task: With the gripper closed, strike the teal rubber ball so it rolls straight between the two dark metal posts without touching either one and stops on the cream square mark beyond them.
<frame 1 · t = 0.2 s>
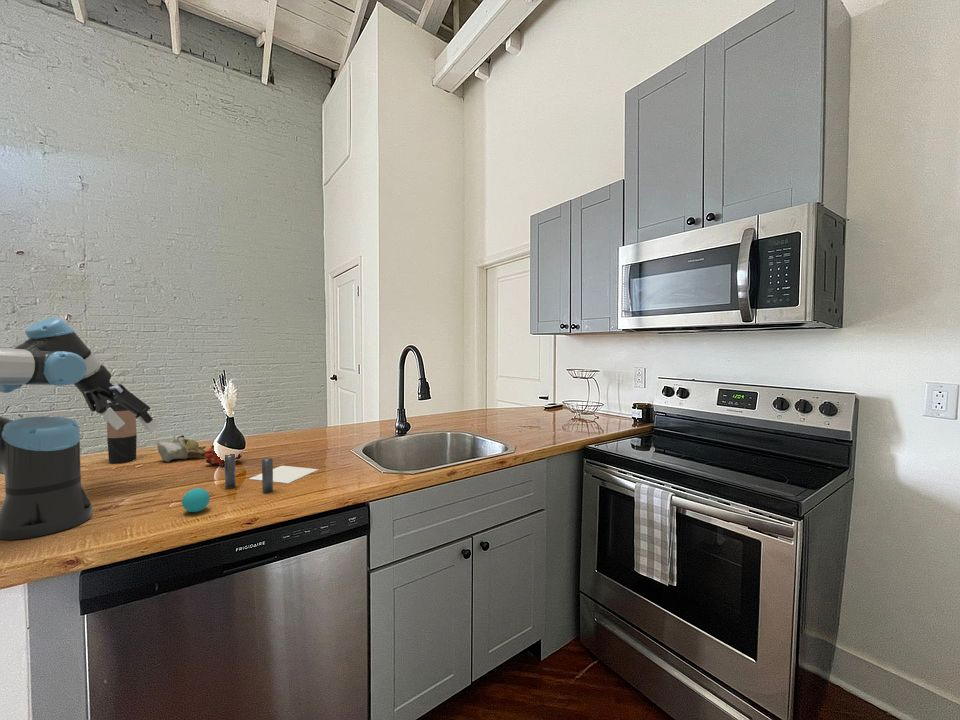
hand: (137, 428, 125), 15 cm above the worktop, fingers open, 13 cm apart
travel mug: (122, 461, 145), on the worktop
ball: (196, 500, 102), on the worktop
gate post right: (267, 491, 116), on the worktop
grey rock: (184, 459, 148), on the worktop
gate post left: (230, 487, 119), on the worktop
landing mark: (284, 474, 131), on the worktop
dragon fruit: (222, 465, 141), on the worktop
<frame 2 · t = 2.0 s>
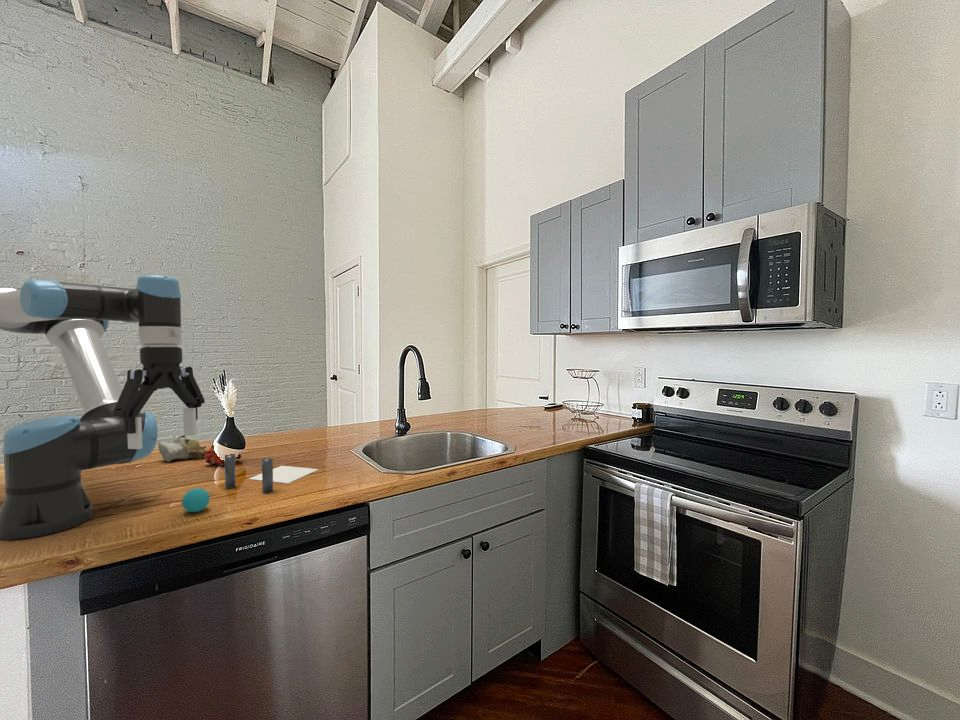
hand: (164, 441, 95), 18 cm above the worktop, fingers open, 13 cm apart
nothing on the worktop moved.
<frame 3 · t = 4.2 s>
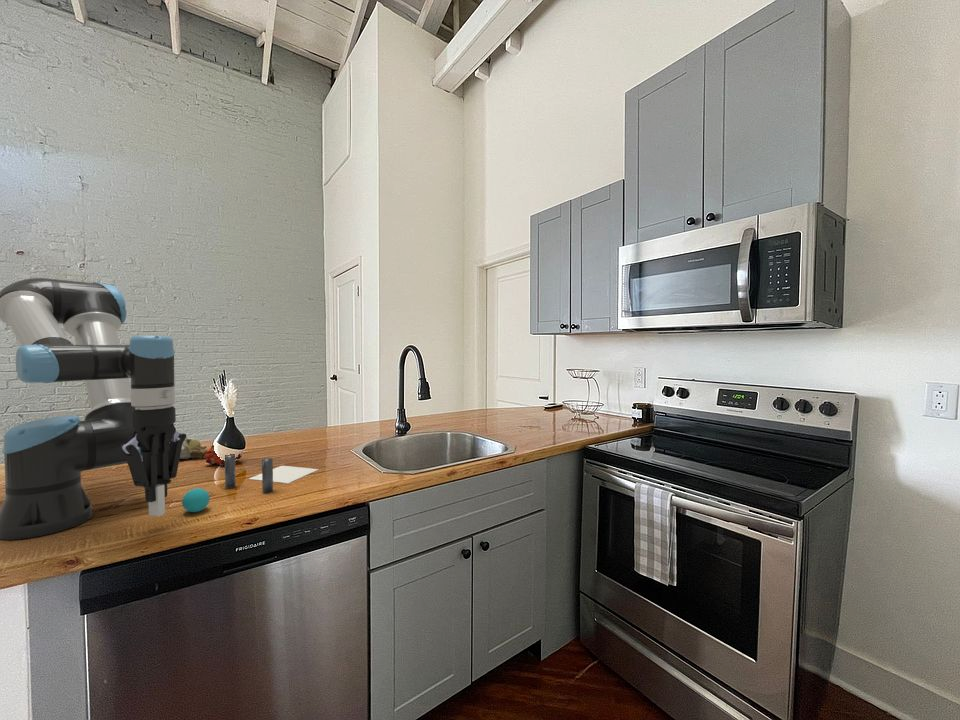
hand: (157, 514, 92), 3 cm above the worktop, fingers closed
nothing on the worktop moved.
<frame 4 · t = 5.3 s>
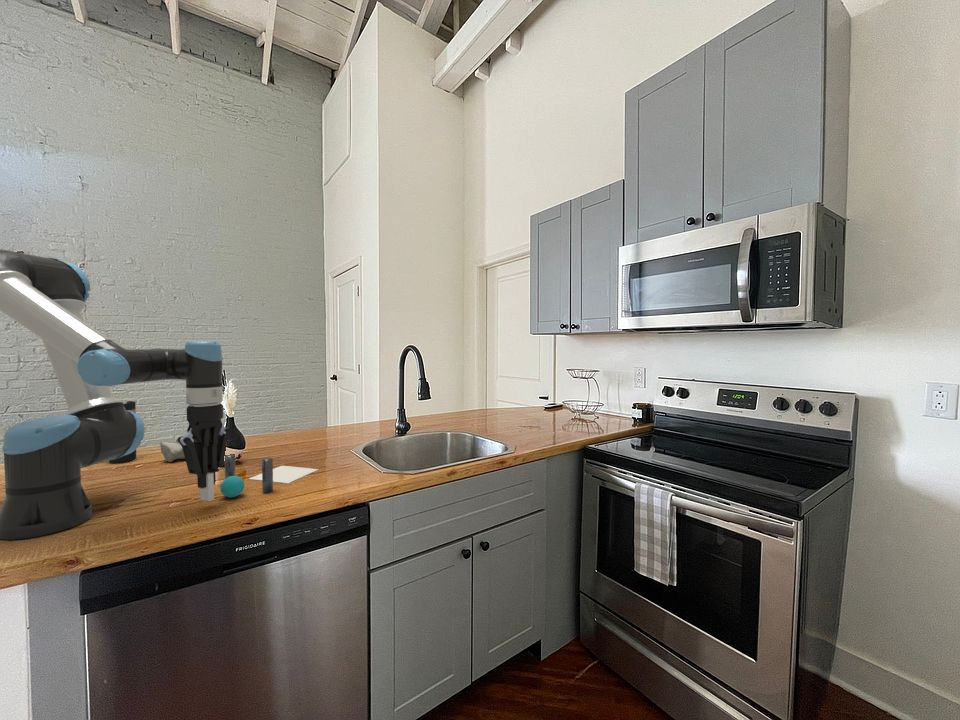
hand: (207, 499, 105), 2 cm above the worktop, fingers closed
ball: (232, 486, 111), on the worktop
everything else where it was.
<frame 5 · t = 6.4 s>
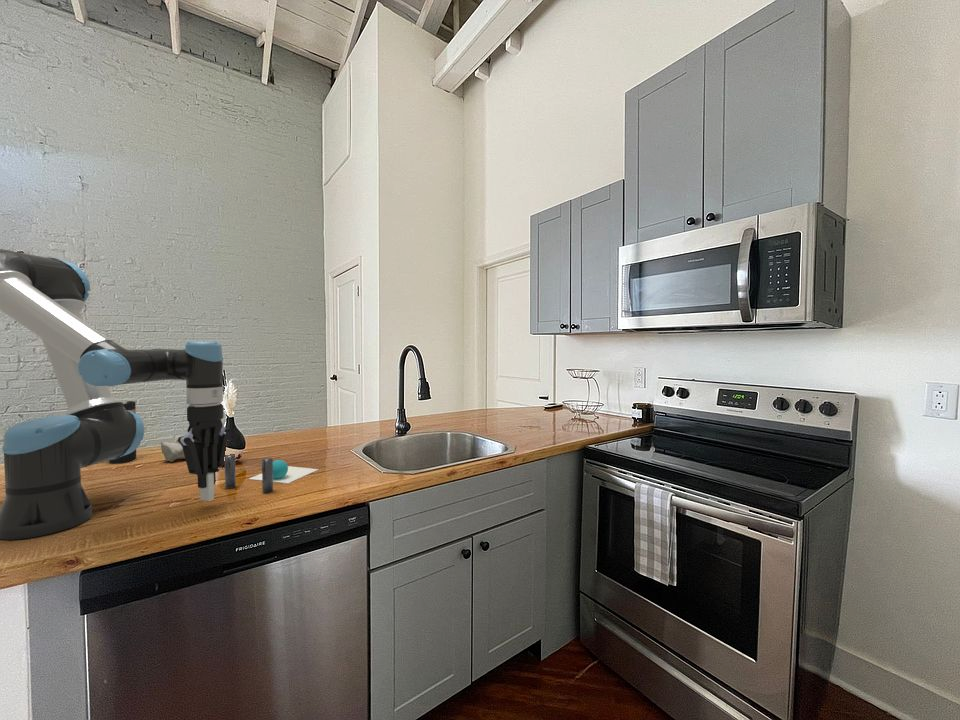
hand: (207, 499, 105), 2 cm above the worktop, fingers closed
ball: (277, 469, 127), on the worktop
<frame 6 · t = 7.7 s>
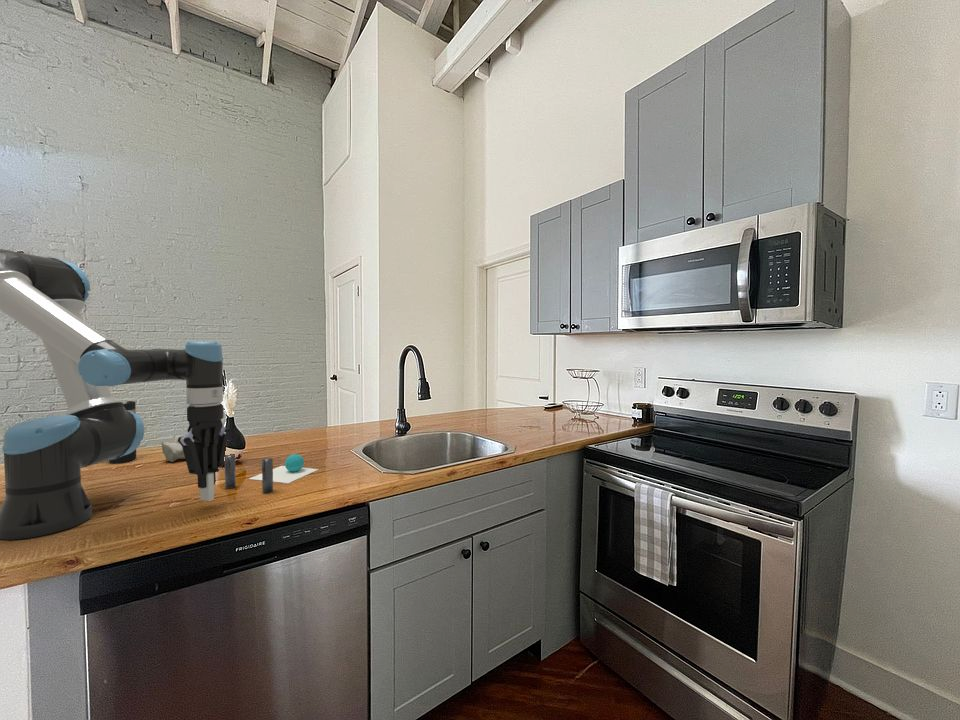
hand: (207, 499, 105), 2 cm above the worktop, fingers closed
ball: (294, 463, 133), on the worktop
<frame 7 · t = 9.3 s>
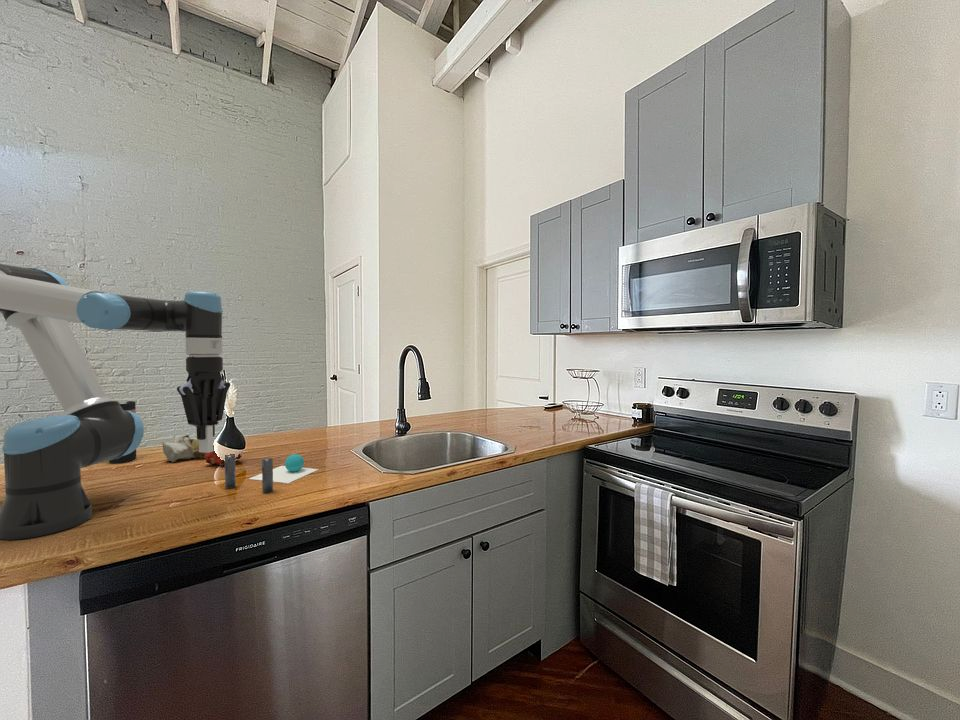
hand: (206, 451, 104), 14 cm above the worktop, fingers closed
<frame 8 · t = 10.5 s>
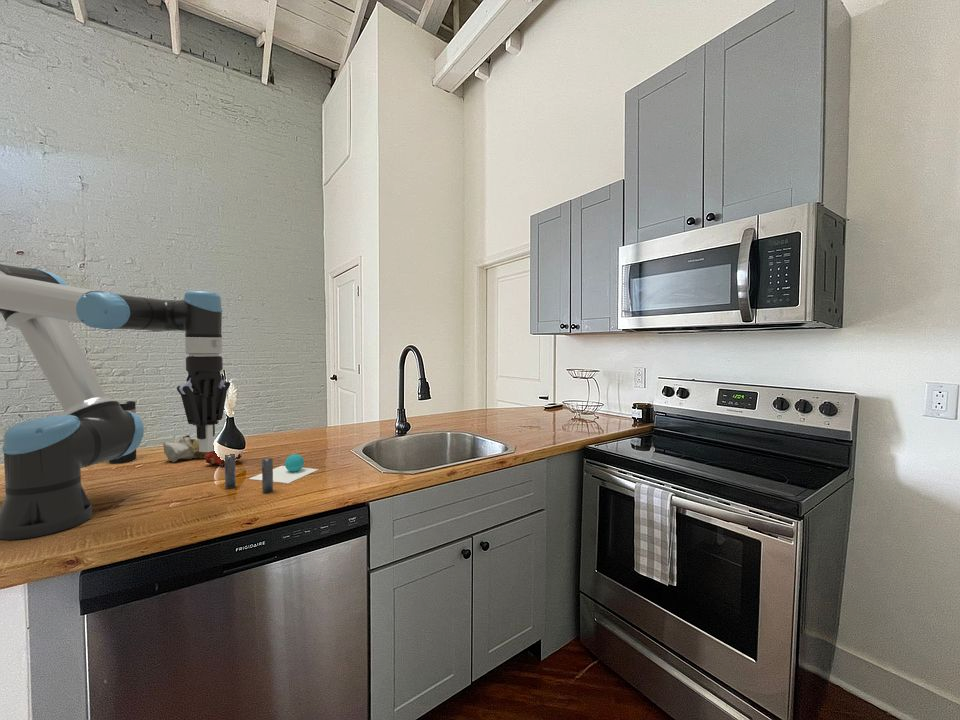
hand: (206, 451, 104), 14 cm above the worktop, fingers closed
at the end: ball 3.4 cm from the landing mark (horizontally); ball never touched gate post left; ball never touched gate post right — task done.
